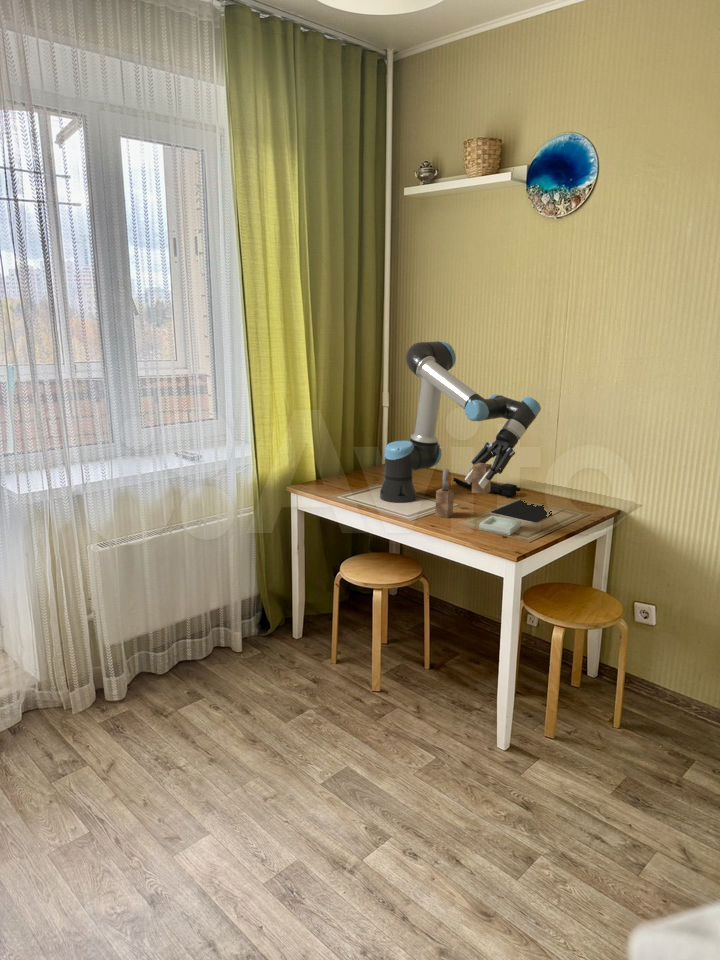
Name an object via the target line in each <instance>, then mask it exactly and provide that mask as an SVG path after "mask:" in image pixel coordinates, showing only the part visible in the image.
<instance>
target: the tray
mask: <svg viewBox="0 0 720 960" xmlns="http://www.w3.org/2000/svg"><path fill="white" fill-rule="evenodd" d="M478 524H479V526H478V527H479V528H478V529H479V530H480V531H484V532H485V531H486V532H488V533H495V534H499V535H500V534H501V535H506V536H511V535H513V534H514V533H516V532H517V531H518V530H519V529H521V528H522V520H518V519H513V518H509V517H503V516H501V517H500V516H498V515H490V516H489V517H487V518H485V519H483V520H482V521H481V522H479V523H478ZM520 527H521V528H520Z"/></svg>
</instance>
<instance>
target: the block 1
mask: <svg viewBox="0 0 720 960" xmlns="http://www.w3.org/2000/svg"><path fill="white" fill-rule="evenodd" d="M449 473H450V469H448V468H447V469H442V486H441V487H442V488H440V489H437V490H435V510H434V511H435V513H434V515H435V517H438V516H439V517H438V518H445V519H448V518H449V517H451V515H452V516H453V512H454V511H453V510H454V493H455V492H454V491H455V490H454V489H449V480H450V479H449V478H450V476H449V475H450V474H449Z"/></svg>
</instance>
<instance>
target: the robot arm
mask: <svg viewBox="0 0 720 960" xmlns="http://www.w3.org/2000/svg"><path fill="white" fill-rule="evenodd" d="M455 352H456V351H455V349H454V347H453V346H452V345H451V344H450V343H449V342H446V341H439V340H438V341H437V340H436V341H424V342H423V341H419V342H416V343H413V344H412V345H411V346H409V348H408V349H407V352H406V354H405V363H406V366H407V368H408V369H409V370H410V372H411V373H412V374H414V375H415V376H416V377H417V378H419V379H421V385H420V390H419V391H420V392H419V399H418V407H417V414H416V422H415V428H414V429H415V430H414V433H413V434H411V435H410V439H409V440H396V441H392V442H391V441H390V442H389V443H387V445H386V446H385V448H384V449H385V450H384V451H385V452H384V479H383V482H382V486H381V488H380V491H379V499H380V500H382V501H386V502H390V503H391V502H392V503H408V502H412V501H414V500H416V499H417V492H416V489H415V485H414V482H413V473H414V472H415V471H421V470H428V469H431V468H433V467H435V466H436V465H437V464H438V463H439V462H440V460H441V457H442V448H441V445H440V444H439V439H438V438H437V437H436V430H437V422H438V418H439V417H438V416H439V410H440V403H441V399H442V397H441V396H442V393H443V394H444V395H445V396H446V397H448V398H449V399H451V401H453V402H454V403H455V404H457V405H458V406H459V407H461V408H462V409H463V410H464V413H465V415H466V417H467V419H468V420H469V421H471V422H483V421H487V420H495V419H504V420H505V419H506V422H505V424H504V425H503V426H502V427H501V428H502V429H500V430H499V432H498V433H497V435H496V436H495V441H493V442H492V443H489V442H485V444H484V446H483V448H481V450H479V452H478V454H477V455H475V457H474V458H473V459H472V460H471V465H472V467H471V468H470V470H469V472H468V474H467V475H466V476H465V478H464V480H465V483H468V484H471V482H472V475H473V465H475V464H477V463H484V464H487V462H489V460H490V461H491V459H493V458H494V461H493V463H492V467H491V468H490V469H491V470H490V469H489V470H488V471H487V472H486V474H485V475H484V476H483V478H482V479H481V480H480V482H479V483H478V484H479V485H480V486H481V487H482V488H483V489H484V487H485V486H486V485H487V483H488V482H489V481H490V480H491V481H492V480H493V478H494V476H495V475H497V474H499V475H501V474H503V472H504V470H505V469H506V467H507V465H508V464H509V462H510V460H511V459H512V457H514V455H516V452H515V450H514V448H515V447H516V445H517V444H518V443H519V440H521V439H522V437H523V435H524V434H525V432H526V431H528V428H529V427H530V426H531V425H532V423H533V422H534V421H535V419H536V418H537V417H538V415H539V413H540V412H541V410H542V409H541V408H542V407H541V404H540V403H539V402H538V401H537V400H536V399H535V398H533V397H529V396H528V397H524V398H523V399H522V400H521V401H520V400H515V399H511V398H509V397H507V396H504V395H502V394H501V395H499V394H492V395H491V396H489V398H484V397H483V396H481V395H480V394H479V393H477V392H476V391H475V390H473V389H472V388H471V387H469V386H468V385H467V384H465V383H464V382H463V381H461V380H460V379H458V378H457V377H456V376H455V375H453V374H452V373H451V372H449V370H451V369H452V368H454V366H455V363H456V360H457V359H456V353H455Z"/></svg>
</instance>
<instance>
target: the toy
mask: <svg viewBox="0 0 720 960" xmlns="http://www.w3.org/2000/svg"><path fill="white" fill-rule="evenodd" d="M453 482H455V484H456V485H459V486H463V487H464V488H467V489H469V488H470V489H472V482H471V483H470V484H468V483H467V482H466V481H463V480H461V479H459V478H456V477H454V478H453ZM490 492H491V493H494V494H495V493H496V494H500V496H501V497H505V498H506V497H507V498H509V497H510V499H512V498H514V497H517V493H518V492H521V487H518V486H517V484H514V483H505V484H499V483H498V484H497V483H494V482H491V487H490ZM490 492H489V493H490ZM511 497H512V498H511Z"/></svg>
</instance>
